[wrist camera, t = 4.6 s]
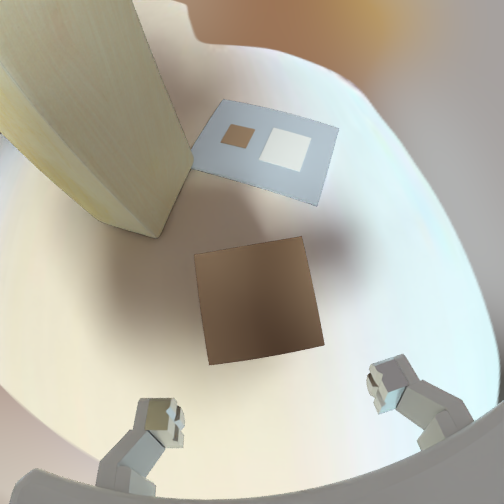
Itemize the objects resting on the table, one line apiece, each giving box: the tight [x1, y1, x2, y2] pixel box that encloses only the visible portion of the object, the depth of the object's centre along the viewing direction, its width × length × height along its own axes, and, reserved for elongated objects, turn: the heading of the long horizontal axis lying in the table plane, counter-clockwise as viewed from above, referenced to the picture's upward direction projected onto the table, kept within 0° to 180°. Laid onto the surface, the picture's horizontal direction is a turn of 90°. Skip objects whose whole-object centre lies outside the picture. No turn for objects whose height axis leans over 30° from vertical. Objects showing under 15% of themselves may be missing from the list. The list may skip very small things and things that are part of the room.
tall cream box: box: [0, 0, 194, 238], centre depth 13 cm, size 8×7×21 cm
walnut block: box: [194, 236, 324, 365], centre depth 15 cm, size 4×4×9 cm
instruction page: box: [191, 99, 339, 206], centre depth 24 cm, size 12×9×1 cm
